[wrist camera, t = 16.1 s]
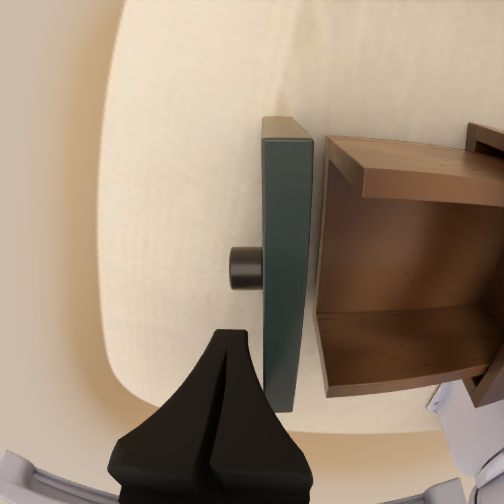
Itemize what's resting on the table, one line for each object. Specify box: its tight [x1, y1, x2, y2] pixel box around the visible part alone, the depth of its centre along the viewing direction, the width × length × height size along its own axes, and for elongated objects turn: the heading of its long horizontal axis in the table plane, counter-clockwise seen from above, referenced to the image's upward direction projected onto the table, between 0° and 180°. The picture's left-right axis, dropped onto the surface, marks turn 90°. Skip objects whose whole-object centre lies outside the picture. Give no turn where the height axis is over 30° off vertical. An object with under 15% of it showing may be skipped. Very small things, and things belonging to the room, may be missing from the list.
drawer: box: [229, 117, 504, 413], centre depth 12 cm, size 15×10×6 cm
